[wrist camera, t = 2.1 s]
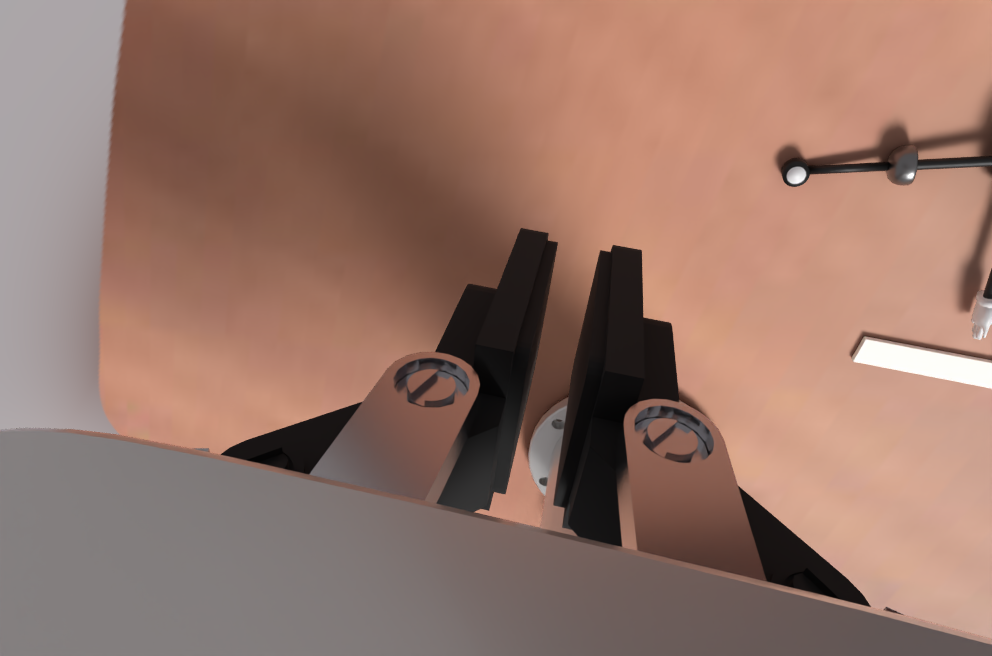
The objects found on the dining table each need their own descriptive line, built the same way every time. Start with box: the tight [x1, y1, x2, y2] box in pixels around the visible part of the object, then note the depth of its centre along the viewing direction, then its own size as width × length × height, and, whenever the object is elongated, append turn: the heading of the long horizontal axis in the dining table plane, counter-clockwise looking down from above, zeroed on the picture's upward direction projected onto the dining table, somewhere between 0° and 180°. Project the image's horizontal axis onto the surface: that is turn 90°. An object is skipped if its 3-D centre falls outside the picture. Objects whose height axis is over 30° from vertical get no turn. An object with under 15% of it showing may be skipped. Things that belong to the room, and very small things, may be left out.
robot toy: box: [782, 145, 992, 339], centre depth 24 cm, size 13×13×3 cm
